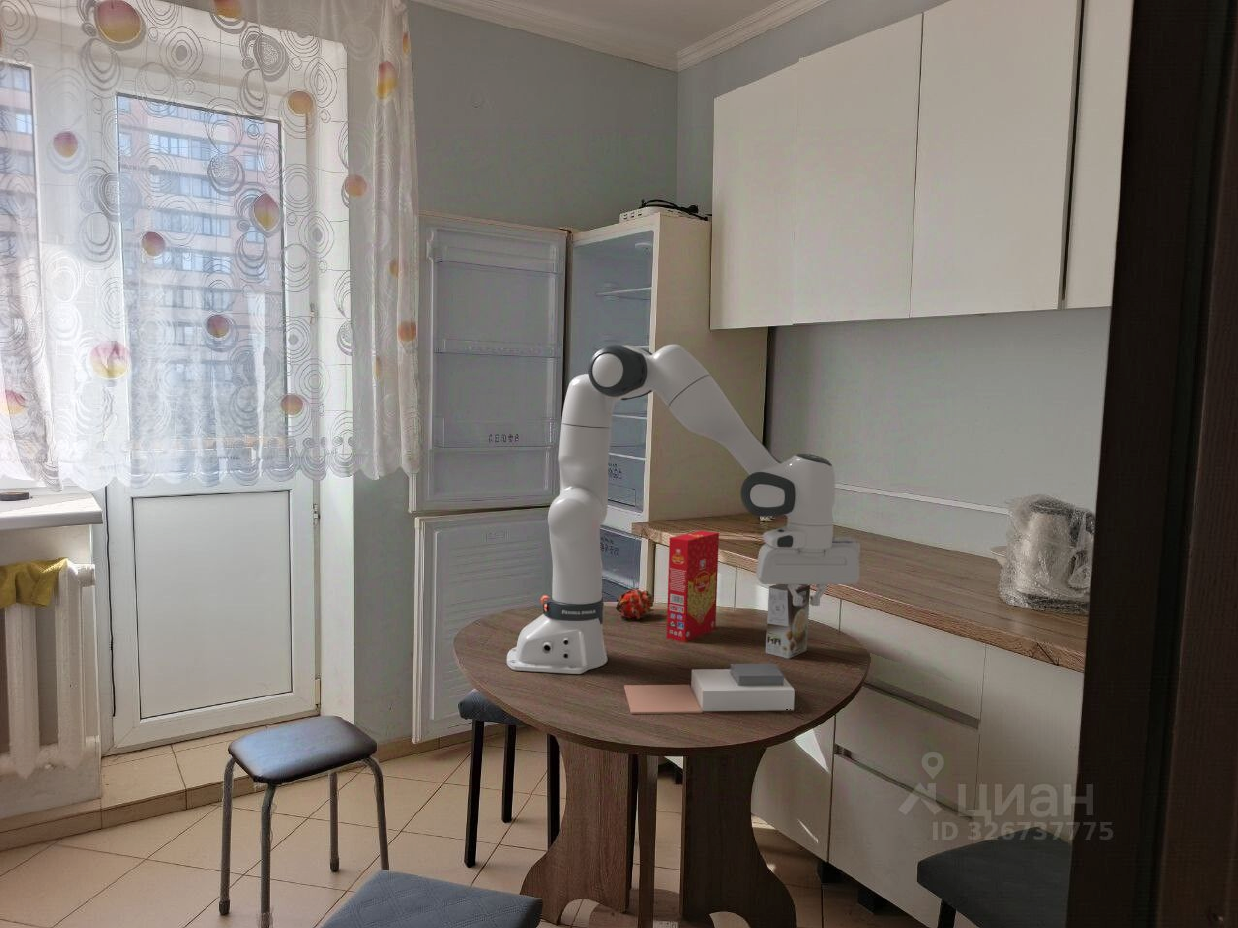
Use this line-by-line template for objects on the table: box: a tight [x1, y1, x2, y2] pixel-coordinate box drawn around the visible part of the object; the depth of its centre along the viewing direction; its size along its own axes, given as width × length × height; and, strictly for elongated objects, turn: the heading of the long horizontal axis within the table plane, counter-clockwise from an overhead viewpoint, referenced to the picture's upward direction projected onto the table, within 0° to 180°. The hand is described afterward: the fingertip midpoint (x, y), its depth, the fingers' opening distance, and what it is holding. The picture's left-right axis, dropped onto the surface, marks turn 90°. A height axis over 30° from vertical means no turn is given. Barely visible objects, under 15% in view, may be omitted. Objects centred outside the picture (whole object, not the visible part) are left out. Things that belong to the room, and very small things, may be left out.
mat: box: [623, 684, 703, 715], centre depth 165 cm, size 14×14×1 cm
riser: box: [690, 668, 796, 712], centre depth 167 cm, size 18×12×4 cm, turn 95°
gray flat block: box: [730, 663, 785, 686], centre depth 167 cm, size 9×7×2 cm
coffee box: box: [765, 584, 811, 660], centre depth 196 cm, size 9×6×16 cm
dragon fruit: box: [615, 587, 654, 620], centre depth 223 cm, size 8×8×12 cm
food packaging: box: [666, 530, 720, 643], centre depth 209 cm, size 15×5×25 cm, turn 143°
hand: (806, 605), depth 166 cm, fingers open, 2 cm apart
